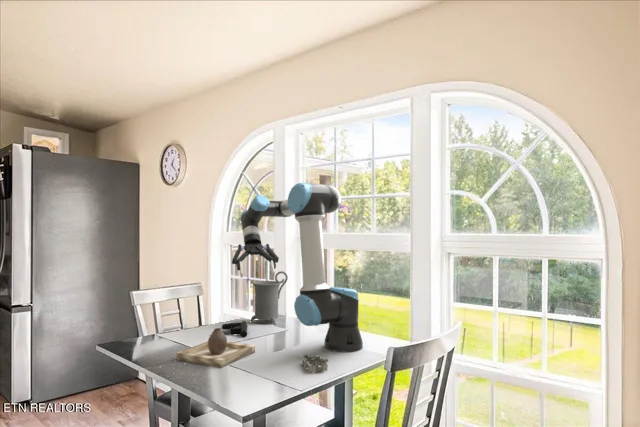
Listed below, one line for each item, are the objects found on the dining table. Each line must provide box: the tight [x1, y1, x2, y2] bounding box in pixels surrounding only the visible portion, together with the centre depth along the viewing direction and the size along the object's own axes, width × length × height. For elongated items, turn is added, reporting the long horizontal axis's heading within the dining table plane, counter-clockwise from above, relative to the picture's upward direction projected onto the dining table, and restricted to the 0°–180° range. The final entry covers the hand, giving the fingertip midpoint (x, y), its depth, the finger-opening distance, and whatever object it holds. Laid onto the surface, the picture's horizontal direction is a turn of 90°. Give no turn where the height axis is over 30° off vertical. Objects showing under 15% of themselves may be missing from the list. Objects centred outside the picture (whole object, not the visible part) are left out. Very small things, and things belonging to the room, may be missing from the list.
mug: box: [250, 271, 289, 326], centre depth 217 cm, size 19×15×25 cm
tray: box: [175, 340, 256, 369], centre depth 160 cm, size 20×20×2 cm
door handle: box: [211, 320, 248, 338], centre depth 195 cm, size 3×20×16 cm
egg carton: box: [300, 354, 329, 373], centre depth 148 cm, size 11×8×4 cm
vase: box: [207, 327, 228, 355], centre depth 161 cm, size 7×7×9 cm
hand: (257, 274), depth 185 cm, fingers open, 13 cm apart
